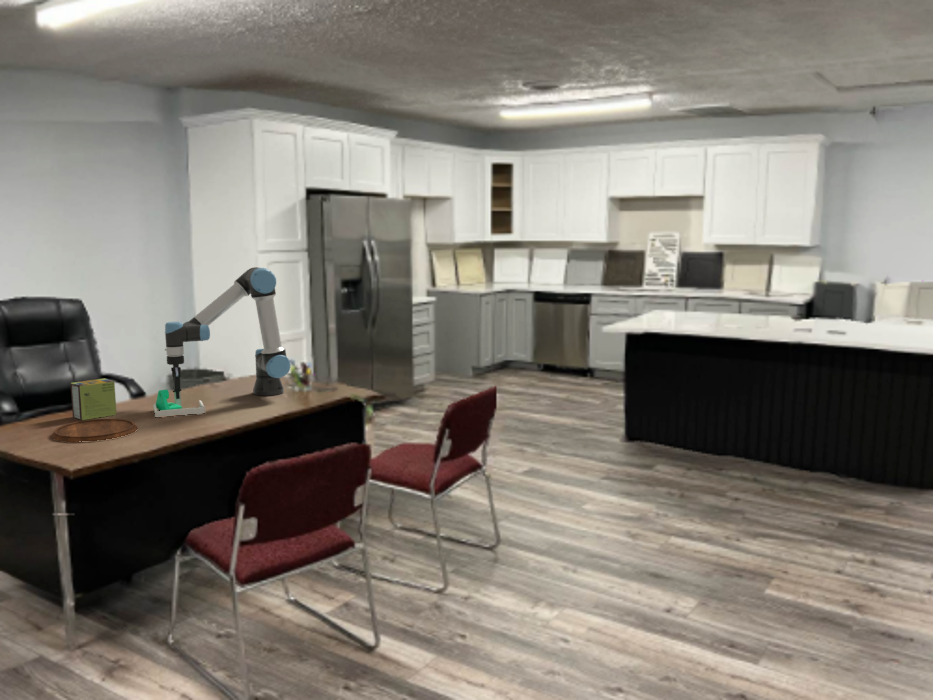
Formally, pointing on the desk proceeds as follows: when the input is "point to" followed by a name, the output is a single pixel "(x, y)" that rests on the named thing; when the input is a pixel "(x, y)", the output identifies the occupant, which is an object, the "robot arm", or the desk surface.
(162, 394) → the camera mount
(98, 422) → the cutting board
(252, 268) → the robot arm
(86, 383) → the protein box
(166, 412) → the housing frame
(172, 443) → the desk surface
